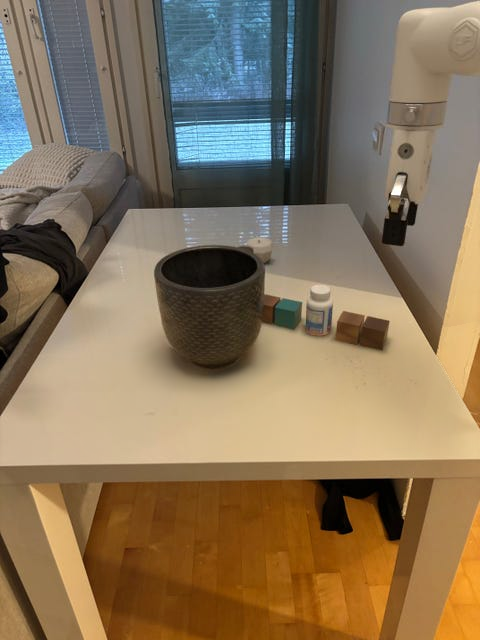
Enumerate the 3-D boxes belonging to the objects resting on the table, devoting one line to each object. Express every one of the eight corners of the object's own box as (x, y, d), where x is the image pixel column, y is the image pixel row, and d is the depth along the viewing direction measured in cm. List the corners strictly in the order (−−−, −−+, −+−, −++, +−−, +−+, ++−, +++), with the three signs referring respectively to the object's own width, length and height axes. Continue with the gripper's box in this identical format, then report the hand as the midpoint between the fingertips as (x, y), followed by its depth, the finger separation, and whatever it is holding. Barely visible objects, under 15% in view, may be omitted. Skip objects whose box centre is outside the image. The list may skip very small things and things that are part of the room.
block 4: (386, 339, 95) (389, 320, 93) (382, 350, 92) (385, 331, 90) (364, 334, 97) (367, 315, 95) (359, 345, 94) (362, 326, 91)
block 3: (362, 333, 97) (364, 315, 95) (356, 344, 94) (359, 325, 92) (341, 329, 99) (343, 310, 97) (335, 339, 96) (337, 320, 93)
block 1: (280, 315, 104) (280, 297, 102) (272, 324, 101) (272, 306, 99) (261, 310, 106) (261, 293, 104) (253, 320, 103) (253, 302, 100)
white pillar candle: (239, 263, 129) (239, 241, 125) (254, 253, 134) (254, 232, 131) (264, 269, 125) (264, 247, 122) (278, 259, 131) (279, 237, 127)
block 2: (301, 319, 103) (302, 302, 100) (293, 329, 99) (294, 311, 97) (282, 315, 104) (282, 297, 102) (274, 325, 101) (274, 307, 99)
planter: (255, 390, 82) (256, 295, 72) (150, 379, 86) (136, 286, 76) (269, 331, 99) (271, 247, 89) (180, 323, 102) (172, 241, 92)
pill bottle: (321, 320, 102) (324, 280, 97) (335, 332, 98) (340, 291, 93) (300, 326, 100) (302, 286, 95) (314, 339, 96) (317, 297, 91)
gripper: (436, 125, 56) (415, 257, 65) (451, 108, 69) (431, 220, 78) (374, 123, 59) (361, 249, 68) (399, 108, 72) (385, 215, 81)
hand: (398, 233), depth 73 cm, fingers open, 9 cm apart
